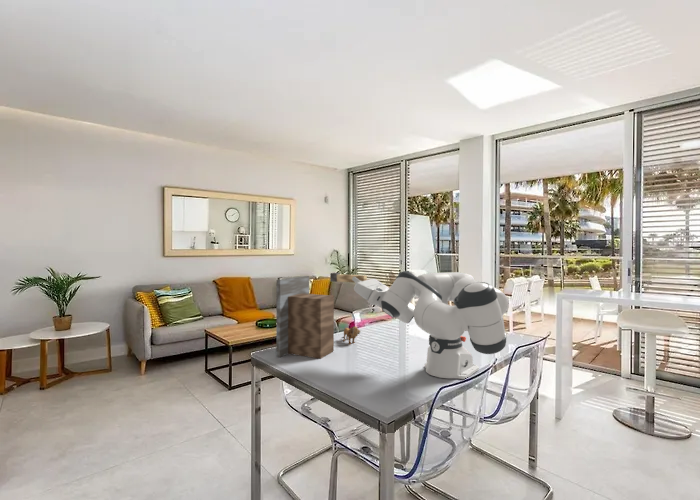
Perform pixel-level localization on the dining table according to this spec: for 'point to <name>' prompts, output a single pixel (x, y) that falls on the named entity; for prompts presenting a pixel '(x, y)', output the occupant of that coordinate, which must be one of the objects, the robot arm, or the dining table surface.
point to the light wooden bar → (345, 277)
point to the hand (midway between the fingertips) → (355, 277)
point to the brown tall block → (303, 319)
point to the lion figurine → (351, 333)
